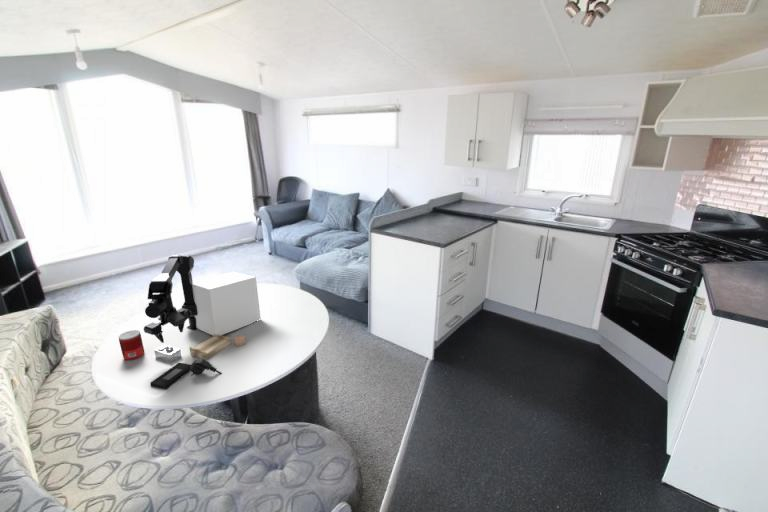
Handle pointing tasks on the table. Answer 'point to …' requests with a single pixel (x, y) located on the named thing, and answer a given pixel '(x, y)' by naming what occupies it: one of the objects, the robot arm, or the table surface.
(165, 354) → the housing
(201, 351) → the stand
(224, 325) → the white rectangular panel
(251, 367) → the table surface
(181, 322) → the robot arm
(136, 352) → the canned food
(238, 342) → the peach cylinder
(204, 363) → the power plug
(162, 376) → the vhs tape
